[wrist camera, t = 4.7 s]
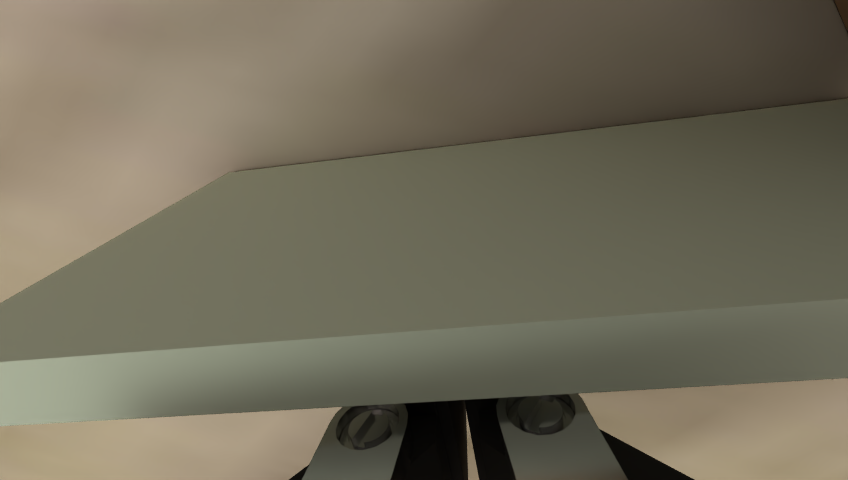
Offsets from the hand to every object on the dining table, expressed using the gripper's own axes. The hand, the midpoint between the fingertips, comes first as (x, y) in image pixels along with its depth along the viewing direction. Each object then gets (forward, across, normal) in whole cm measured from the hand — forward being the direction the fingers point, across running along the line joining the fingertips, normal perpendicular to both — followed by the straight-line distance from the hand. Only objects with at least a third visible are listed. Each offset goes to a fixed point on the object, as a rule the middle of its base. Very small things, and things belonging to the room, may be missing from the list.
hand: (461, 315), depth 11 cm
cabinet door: (+7, -3, -2) cm, 7 cm away
